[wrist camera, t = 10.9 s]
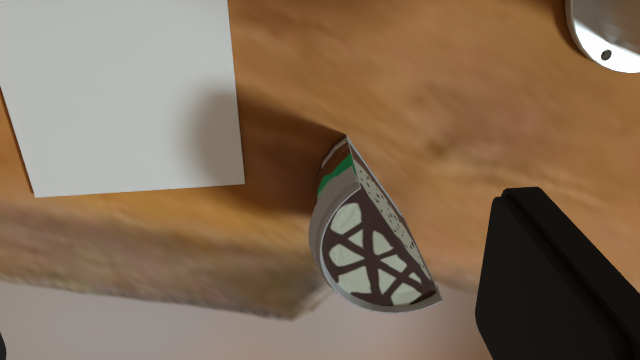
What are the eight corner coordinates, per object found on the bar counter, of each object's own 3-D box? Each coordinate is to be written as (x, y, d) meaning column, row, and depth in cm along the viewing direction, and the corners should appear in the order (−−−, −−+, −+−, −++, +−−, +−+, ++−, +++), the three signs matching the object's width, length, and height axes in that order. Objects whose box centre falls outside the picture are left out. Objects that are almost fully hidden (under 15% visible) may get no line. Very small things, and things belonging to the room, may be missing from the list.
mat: (223, -33, 35) (223, -32, 35) (244, 181, 43) (244, 184, 42) (-31, -25, 34) (-34, -24, 34) (37, 194, 41) (35, 197, 41)
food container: (270, 162, 42) (272, 232, 33) (335, 119, 41) (356, 180, 32) (351, 262, 48) (372, 346, 39) (411, 227, 46) (446, 305, 38)
